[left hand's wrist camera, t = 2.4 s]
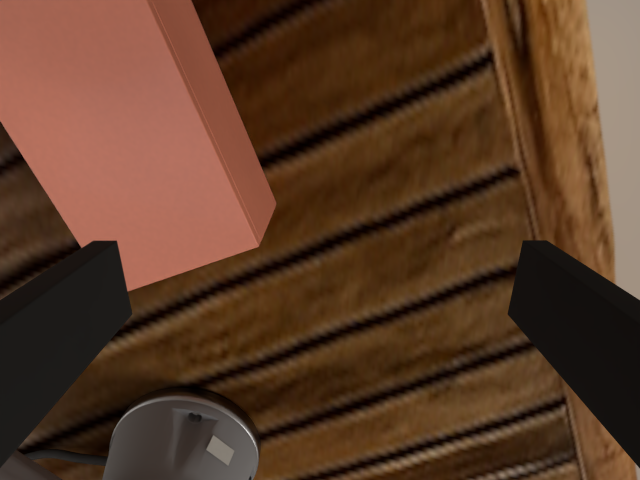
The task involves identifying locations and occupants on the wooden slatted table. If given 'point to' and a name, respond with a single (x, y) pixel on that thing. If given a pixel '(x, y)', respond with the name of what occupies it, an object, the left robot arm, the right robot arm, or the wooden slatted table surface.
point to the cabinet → (132, 131)
